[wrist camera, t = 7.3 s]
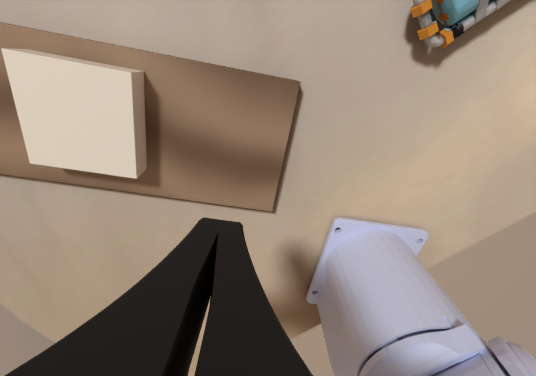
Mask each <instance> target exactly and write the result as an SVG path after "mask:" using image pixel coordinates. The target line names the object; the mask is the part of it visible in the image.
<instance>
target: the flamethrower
mask: <svg viewBox="0 0 536 376" xmlns="http://www.w3.org/2000/svg"><path fill="white" fill-rule="evenodd" d="M510 1H512V0H432V2H431V0H413V2H414V6H413V7H411V13H412V16H413V18H415V17H417V18H418V21H419V24H420V27H421V28H420V29H419V30H417V31H418V36H419V39H420V40H422V39H424V40H425V41H426V43H427V44H428V45H429V46H431V47H434V48H436V47H438V46H440V47H442V48H443V49H444V48H445V47H447V46H448V45H450V44H451V43H452V42H453V41H454V39H455V38H456V37H458V36H460V35H461V34H463V33H464V31H466V30H467V29H469V28H470V27H472V26H473V25H475V24H476V23H478V22H479V21H481V20H482V19H484V18H486V17H487V16H489V15H490V14H492V13H493V12H495V11H496V10H498V9H499V8H501V7H502V6H504V5H506V4H507V3H509V2H510ZM431 8H433V13H434V15H435V16H436V18H437V20H438V21H439V22H440V23H441V24H442V25H445V26H448V27H447V28H444V29H443V30H441V31H440V32H439V33H438V34H437V35H436V32H438V31H439V29H438V25H437V22H436V21H434V22H432V19H431V16H430V13H429V10H430V9H431Z"/></svg>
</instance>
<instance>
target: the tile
mask: <svg viewBox="0 0 536 376" xmlns="http://www.w3.org/2000/svg"><path fill="white" fill-rule="evenodd" d="M1 50H2V54H3V58H4V62H5V66H6V70H7V74H8V78H9V82H10V86H11V90H12V94H13V98H14V102H15V106H16V110H17V114H18V118H19V122H20V126H21V130H22V134H23V138H24V142H25V146H26V150H27V154H28V158H29V162H30V163H31V164H38V165H45V166H52V167H59V168H66V169H73V170H79V171H86V172H93V173H100V174H107V175H114V176H121V177H128V178H135V179H137V178H138V177H139V176H140V175H141V174H142V173H143V172H144V171H145V170H146V169H147V157H146V125H145V94H144V71H140V70H135V69H130V68H125V67H119V66H114V65H109V64H103V63H98V62H93V61H87V60H82V59H77V58H72V57H66V56H61V55H56V54H50V53H45V52H40V51H35V50H29V49H8V48H1Z"/></svg>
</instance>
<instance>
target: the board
mask: <svg viewBox="0 0 536 376" xmlns="http://www.w3.org/2000/svg"><path fill="white" fill-rule="evenodd" d="M1 48H8V49H29V50H35V51H40V52H45V53H50V54H56V55H61V56H66V57H72V58H77V59H82V60H87V61H93V62H98V63H103V64H109V65H114V66H119V67H125V68H130V69H135V70H140V71H144V94H145V125H146V157H147V169H146V170H145V171H144V172H143V173H142V174H141V175H140V176H139V177H138V178H137V179H135V178H128V177H121V176H114V175H107V174H100V173H93V172H86V171H79V170H73V169H66V168H59V167H52V166H45V165H38V164H31V163H30V162H29V158H28V154H27V150H26V146H25V142H24V138H23V134H22V130H21V126H20V122H19V118H18V114H17V110H16V106H15V102H14V98H13V94H12V90H11V86H10V82H9V78H8V74H7V70H6V66H5V62H4V58H3V54H2V50H1ZM299 87H300V82H299V81H296V80H291V79H285V78H280V77H275V76H270V75H265V74H260V73H255V72H250V71H245V70H240V69H235V68H230V67H225V66H220V65H214V64H209V63H204V62H199V61H194V60H189V59H184V58H179V57H174V56H169V55H164V54H159V53H154V52H149V51H143V50H138V49H133V48H128V47H123V46H118V45H113V44H108V43H103V42H98V41H93V40H88V39H83V38H78V37H72V36H67V35H62V34H57V33H52V32H47V31H42V30H37V29H32V28H27V27H22V26H17V25H12V24H7V23H1V22H0V174H5V175H12V176H19V177H26V178H33V179H41V180H48V181H55V182H62V183H69V184H77V185H84V186H91V187H98V188H106V189H113V190H120V191H127V192H134V193H142V194H149V195H156V196H163V197H170V198H178V199H185V200H192V201H199V202H206V203H214V204H221V205H228V206H235V207H243V208H250V209H257V210H264V211H271V212H272V209H273V204H274V199H275V195H276V190H277V186H278V181H279V177H280V172H281V168H282V163H283V159H284V154H285V150H286V145H287V141H288V136H289V132H290V127H291V123H292V118H293V114H294V109H295V105H296V100H297V96H298V91H299Z"/></svg>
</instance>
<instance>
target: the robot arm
mask: <svg viewBox="0 0 536 376" xmlns="http://www.w3.org/2000/svg"><path fill="white" fill-rule="evenodd" d="M336 228H339V229H338V230H335V229H336ZM427 238H428V232H427V231H426V230H425V229H420V228H413V227H406V226H399V225H391V224H384V223H377V222H370V221H363V220H356V219H349V218H342V217H338V218H336V219H334V220H333V222H332V225H331V228H330V231H329V234H328V236H327V239H326V242H325V245H324V248H323V251H322V253H321V256H320V259H319V262H318V265H317V267H316V270H315V273H314V276H313V279H312V282H311V284H310V287H309V290H308V293H307V296H306V300H307V302H308V303H311V304H317V307H318V311H319V315H320V320H321V324H322V328H323V332H324V337H325V341H326V345H327V350H328V354H329V358H330V362H331V366H332V369H333V372H334V374H335V376H536V360H535V359H534V358H533V357H532V356H531V355H530V354H529V353H528V352H527V351H526V350H525V349H524V347H522V346H521V345H519V344H516V343H513V342H510V341H507V342H506V341H505V340H504V339H502V338H501V337H495V338H493V339H491V340H489V341H488V343H487V342H486V341H485V340H484V339H483V338H482V337H481V336H480V335H479V334H477V332H476V331H475V330H474V329H473V327H472V326H471V325H470V323H469V322H468V321H467V320H466V318H465V317H464V316H463V315H462V313H461V312H460V311H459V310H458V308H457V307H456V306H455V304H454V303H453V302H452V301H451V299H450V298H449V297H448V296H447V294H446V293H445V292H444V291H443V289H442V288H441V287H440V286H439V284H438V283H437V282H436V280H435V279H434V278H433V277H432V275H431V274H430V273H429V272H428V270H427V269H426V268H425V267H424V265H423V264H422V263H421V262H420V260H419V259H418V258H417V255H418V253H419V252H420V250H421V248H422V246H423V245H424V243H425V241H426V239H427ZM418 239H419V240H418ZM417 240H418V241H417ZM210 296H211V298H210ZM209 299H210V308H209V312H208V317H207V322H206V326H205V331H204V335H203V340H202V344H201V349H200V354H199V358H198V363H197V367H196V371H195V376H313V375H312V374H311V372H310V371H309V369H308V368H307V366H306V365H305V363H304V362H303V360H302V359H301V357H300V356H299V354H298V353H297V351H296V350H295V348H294V346H293V345H292V343H291V341H290V339H289V338H288V336H287V334H286V333H285V331H284V329H283V327H282V326H281V324H280V322H279V320H278V318H277V317H276V315H275V313H274V311H273V309H272V307H271V305H270V303H269V301H268V299H267V297H266V295H265V293H264V290H263V288H262V286H261V284H260V281H259V279H258V277H257V274H256V272H255V269H254V266H253V264H252V261H251V258H250V255H249V252H248V249H247V245H246V242H245V238H244V232H243V225H242V224H241V223H240V222H233V221H225V220H218V219H210V218H202V219H200V220H199V221H198V223H197V224H196V225H195V227H194V228H193V229H192V230H191V231H190V232H189V234H188V235H187V236H186V237H185V238H184V239H183V240H182V241H181V242H180V243H179V244H178V245H177V246H176V247H175V248H174V249H173V250H172V251H171V252H170V253H169V254H168V255H167V256H166V257H165V258H164V259H163V260H162V261H161V262H160V263H159V264H158V265H157V266H156V267H155V268H153V269H152V270H151V271H150V272H149V273H148V274H147V275H146V276H145V277H143V278H142V279H141V280H140V281H139V282H138V283H136V284H135V285H134V286H133V287H132V288H130V289H129V290H128V291H127V292H126V293H124V294H123V295H122V296H121V297H119V298H118V299H117V300H115V301H114V302H113V303H111V304H110V305H109V306H108V307H106V308H105V309H104V310H102V311H101V312H100V313H98V314H97V315H95V316H94V317H93V318H91V319H90V320H88V321H87V322H86V323H84V324H83V325H81V326H80V327H79V328H77V329H76V330H74V331H73V332H71V333H70V334H69V335H67V336H66V337H64V338H63V339H61V340H60V341H58V342H57V343H55V344H54V345H52V346H51V347H49V348H48V349H46V350H45V351H43V352H42V353H40V354H39V355H37V356H35V357H34V358H32V359H30V360H29V361H28V362H26V363H24V364H22V365H21V366H19V367H18V368H16V369H14V370H13V371H11V372H10V373H8V374H6V375H5V376H188V372H189V368H190V364H191V361H192V357H193V354H194V351H195V347H196V344H197V340H198V337H199V334H200V330H201V327H202V323H203V320H204V317H205V313H206V310H207V306H208V303H209Z"/></svg>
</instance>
